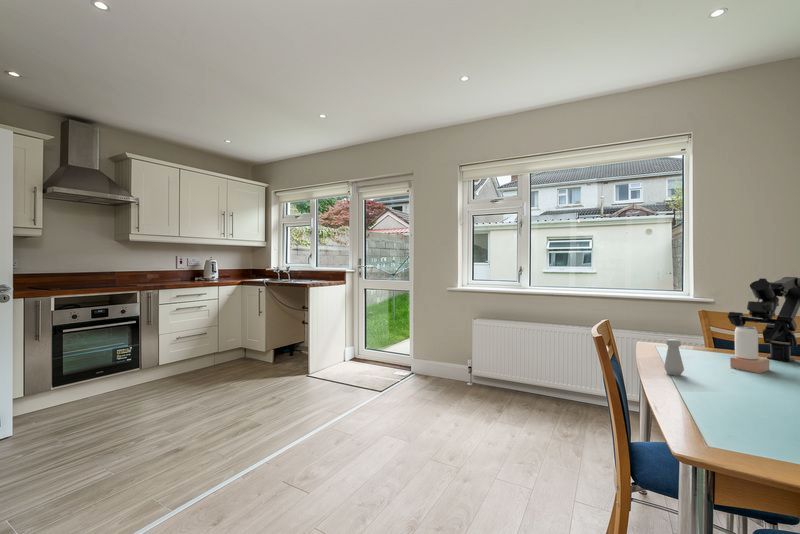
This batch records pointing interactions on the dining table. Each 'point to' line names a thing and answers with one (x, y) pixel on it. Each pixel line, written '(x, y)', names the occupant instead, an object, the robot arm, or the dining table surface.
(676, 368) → the salt shaker
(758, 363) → the peach block
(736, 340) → the can
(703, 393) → the dining table surface
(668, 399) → the dining table surface
